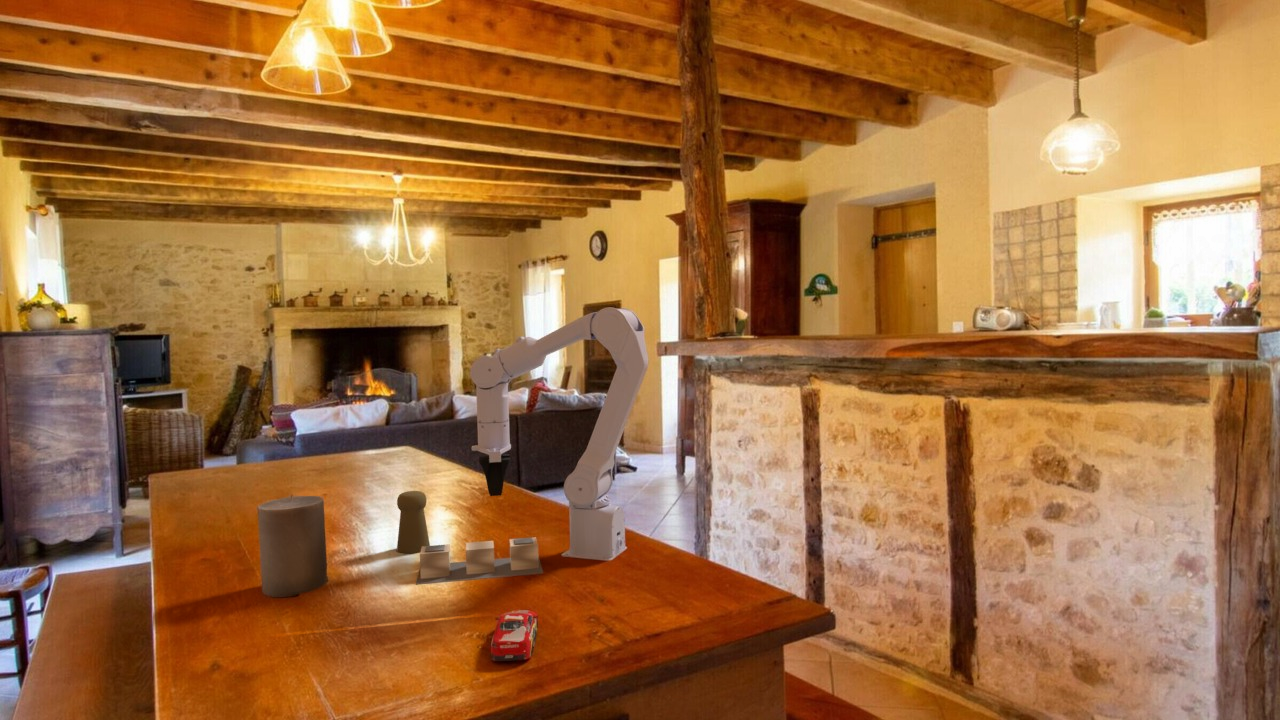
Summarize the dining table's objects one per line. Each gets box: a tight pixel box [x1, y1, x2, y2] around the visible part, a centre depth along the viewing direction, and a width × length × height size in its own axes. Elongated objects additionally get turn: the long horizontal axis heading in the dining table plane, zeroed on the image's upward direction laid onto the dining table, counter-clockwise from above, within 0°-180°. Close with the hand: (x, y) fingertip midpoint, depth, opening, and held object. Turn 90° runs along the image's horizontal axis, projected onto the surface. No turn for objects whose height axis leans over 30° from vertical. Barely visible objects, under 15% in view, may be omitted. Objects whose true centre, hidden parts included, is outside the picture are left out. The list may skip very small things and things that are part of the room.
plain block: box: [465, 540, 495, 574], centre depth 126 cm, size 4×4×4 cm
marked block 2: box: [509, 536, 539, 570], centre depth 128 cm, size 4×4×4 cm
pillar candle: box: [257, 493, 329, 598], centre depth 120 cm, size 10×10×15 cm
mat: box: [415, 554, 544, 586], centre depth 126 cm, size 20×10×1 cm, turn 102°
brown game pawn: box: [396, 490, 431, 555], centre depth 139 cm, size 6×6×11 cm
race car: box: [490, 609, 539, 662], centre depth 97 cm, size 13×5×4 cm, turn 2°
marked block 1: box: [419, 544, 451, 579], centre depth 125 cm, size 4×4×4 cm
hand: (495, 495), depth 139 cm, fingers closed
